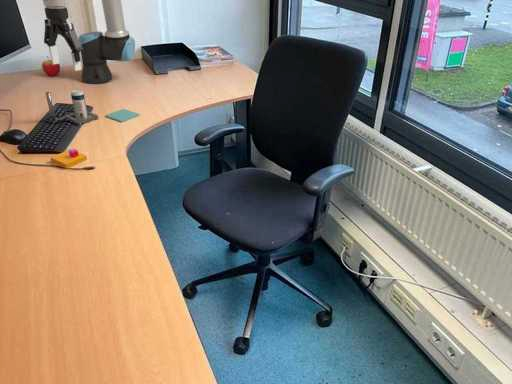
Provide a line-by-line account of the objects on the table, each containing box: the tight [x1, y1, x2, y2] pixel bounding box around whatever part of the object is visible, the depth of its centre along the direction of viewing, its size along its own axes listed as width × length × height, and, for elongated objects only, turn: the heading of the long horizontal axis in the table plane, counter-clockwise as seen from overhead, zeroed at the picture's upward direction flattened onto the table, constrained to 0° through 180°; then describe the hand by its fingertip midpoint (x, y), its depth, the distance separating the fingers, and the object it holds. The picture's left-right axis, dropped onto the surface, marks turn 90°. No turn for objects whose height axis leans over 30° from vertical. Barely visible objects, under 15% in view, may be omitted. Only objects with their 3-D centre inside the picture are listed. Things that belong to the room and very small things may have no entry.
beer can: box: [70, 89, 89, 120], centre depth 169 cm, size 5×5×12 cm
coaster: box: [104, 108, 141, 123], centre depth 177 cm, size 10×10×1 cm
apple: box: [41, 55, 61, 77], centre depth 218 cm, size 8×8×10 cm
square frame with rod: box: [45, 91, 99, 126], centre depth 168 cm, size 14×14×12 cm
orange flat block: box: [50, 148, 88, 170], centre depth 140 cm, size 8×8×4 cm
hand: (66, 66), depth 161 cm, fingers open, 13 cm apart
